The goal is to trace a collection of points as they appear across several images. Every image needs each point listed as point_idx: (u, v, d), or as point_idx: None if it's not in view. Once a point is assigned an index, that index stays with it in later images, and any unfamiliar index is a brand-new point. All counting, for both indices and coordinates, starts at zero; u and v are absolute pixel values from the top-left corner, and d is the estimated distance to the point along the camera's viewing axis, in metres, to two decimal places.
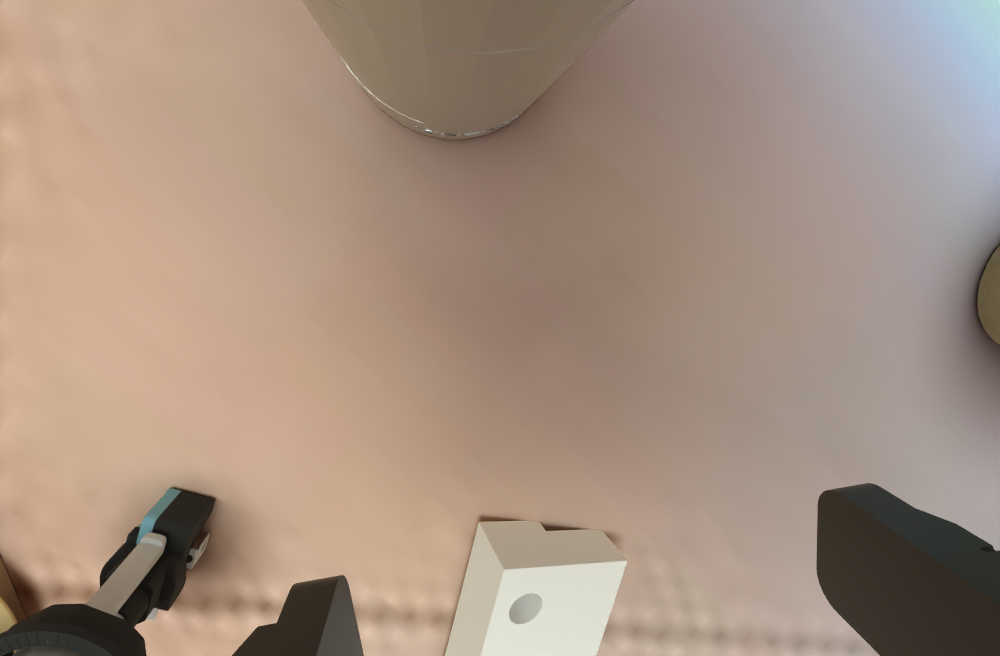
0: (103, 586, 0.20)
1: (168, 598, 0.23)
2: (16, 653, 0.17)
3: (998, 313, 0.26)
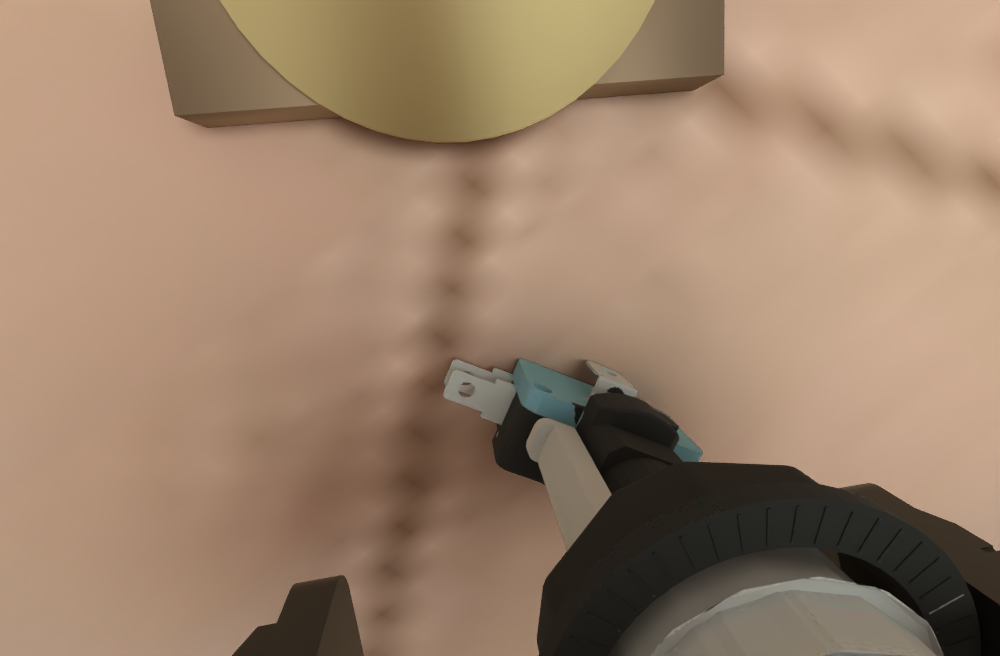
0: None
1: None
2: None
3: None
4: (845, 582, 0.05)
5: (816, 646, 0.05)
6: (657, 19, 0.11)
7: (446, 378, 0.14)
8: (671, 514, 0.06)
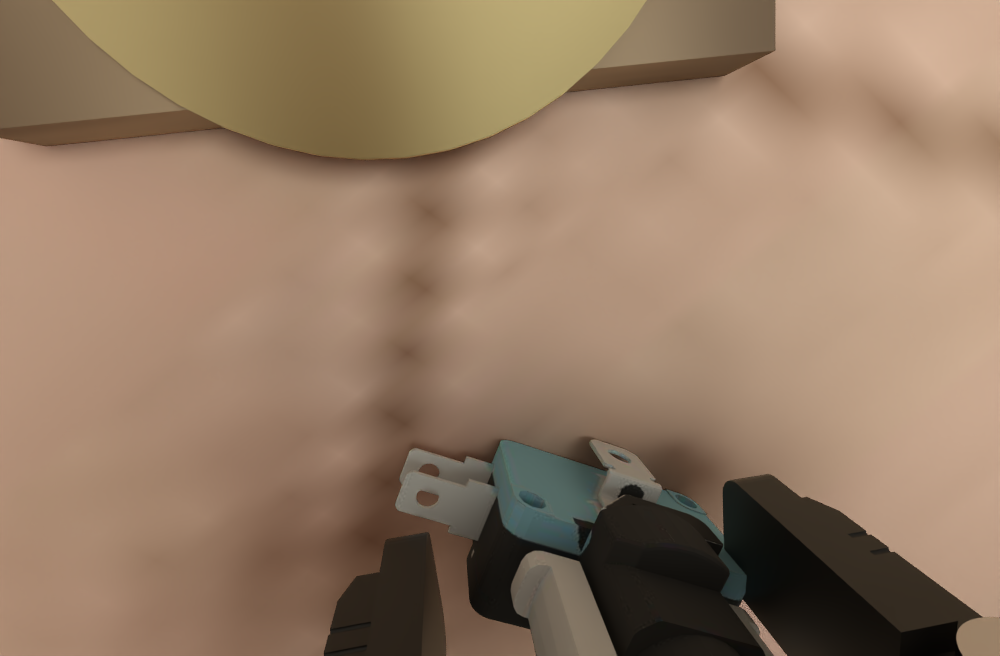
0: None
1: None
2: None
3: None
4: None
5: None
6: None
7: (402, 474, 0.10)
8: None
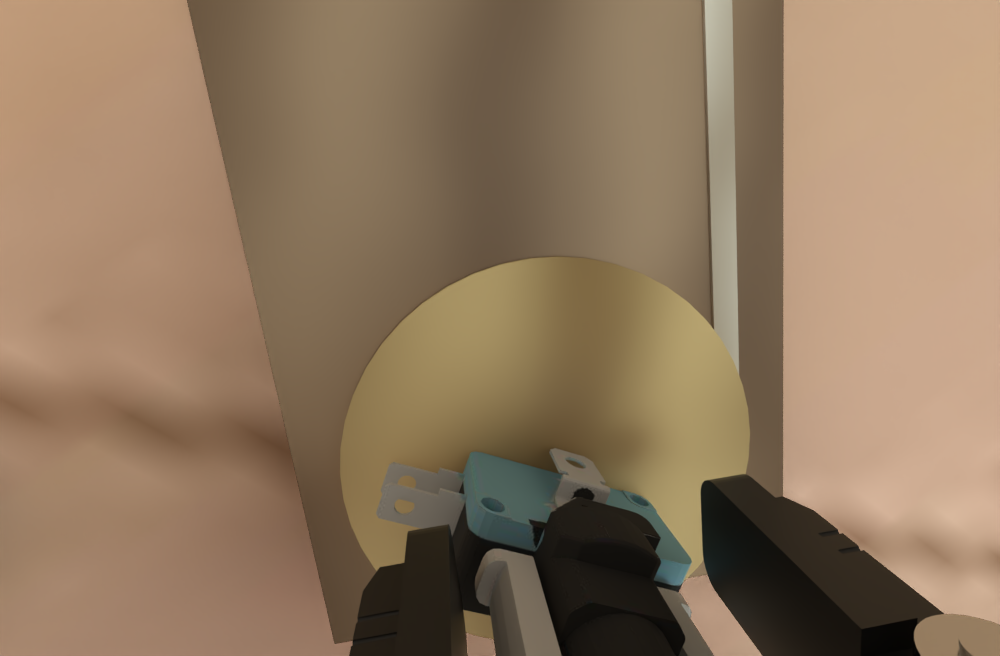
0: None
1: None
2: None
3: None
4: None
5: None
6: None
7: (383, 486, 0.11)
8: None
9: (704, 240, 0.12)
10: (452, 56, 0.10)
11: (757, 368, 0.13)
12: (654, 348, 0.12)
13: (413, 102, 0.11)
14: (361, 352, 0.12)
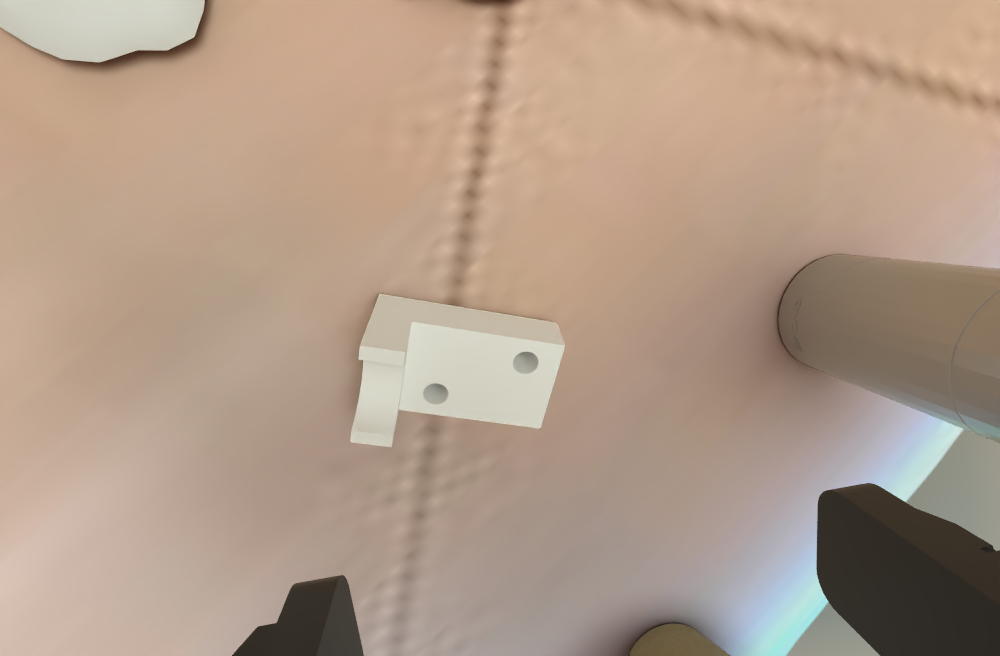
0: None
1: None
2: None
3: (665, 635, 0.44)
4: None
5: None
6: None
7: None
8: None
9: None
10: None
11: None
12: None
13: None
14: None
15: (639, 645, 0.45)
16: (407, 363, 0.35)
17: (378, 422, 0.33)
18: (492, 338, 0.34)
